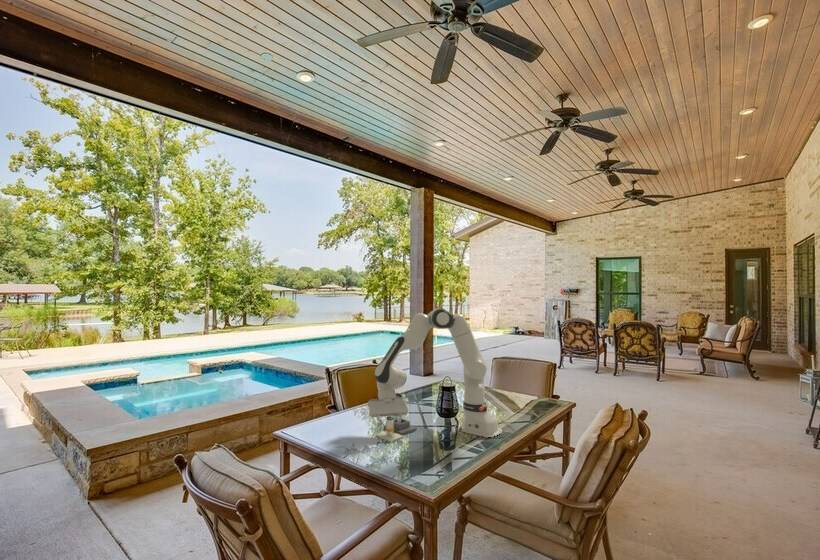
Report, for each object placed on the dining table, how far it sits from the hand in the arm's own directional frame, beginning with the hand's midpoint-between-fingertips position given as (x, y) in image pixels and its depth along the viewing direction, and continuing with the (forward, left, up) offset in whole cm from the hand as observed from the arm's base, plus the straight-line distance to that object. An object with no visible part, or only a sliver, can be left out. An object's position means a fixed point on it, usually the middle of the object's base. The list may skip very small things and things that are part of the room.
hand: (390, 423), depth 203 cm
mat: (+1, 0, -7) cm, 7 cm away
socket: (+5, -11, -7) cm, 14 cm away
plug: (+1, 0, -6) cm, 6 cm away
